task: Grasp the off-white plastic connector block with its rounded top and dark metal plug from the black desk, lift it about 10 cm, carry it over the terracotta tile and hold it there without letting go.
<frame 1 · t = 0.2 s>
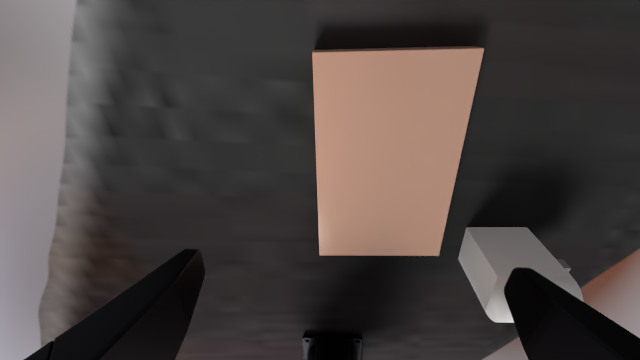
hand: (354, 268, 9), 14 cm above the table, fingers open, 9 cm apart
connector: (491, 243, 26), on the table
terracotta tile: (383, 162, 23), on the table
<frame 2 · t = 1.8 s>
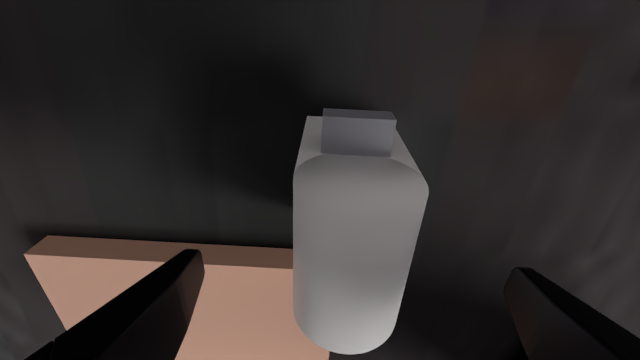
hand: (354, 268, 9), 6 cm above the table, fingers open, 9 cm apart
connector: (344, 169, 14), on the table
terracotta tile: (204, 304, 19), on the table
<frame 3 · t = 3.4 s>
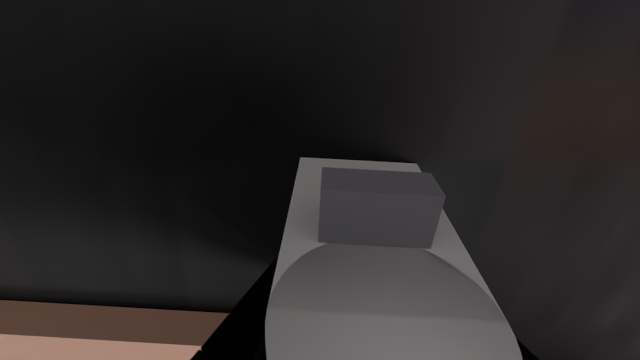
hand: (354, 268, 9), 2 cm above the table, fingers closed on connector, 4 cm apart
connector: (350, 225, 11), on the table, touching gripper
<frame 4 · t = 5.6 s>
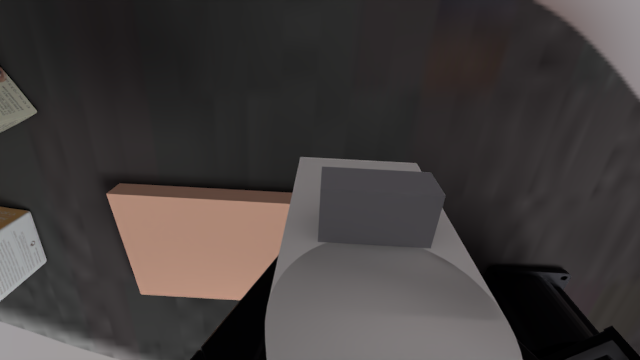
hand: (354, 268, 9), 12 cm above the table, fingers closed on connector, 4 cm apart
connector: (350, 224, 11), point 10 cm above the table, touching gripper
terracotta tile: (234, 242, 24), on the table
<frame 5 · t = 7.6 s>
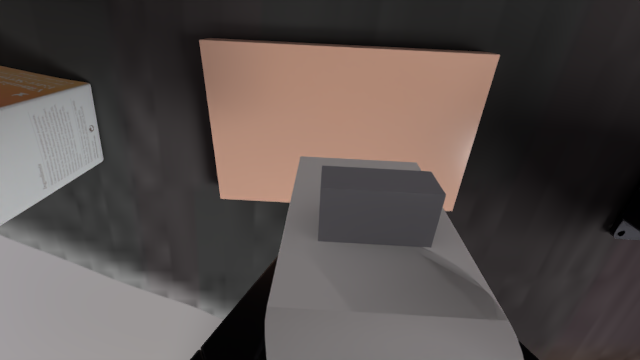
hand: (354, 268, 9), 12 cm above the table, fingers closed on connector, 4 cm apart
connector: (350, 224, 11), point 10 cm above the table, touching gripper
small box: (41, 111, 20), on the table
terracotta tile: (340, 128, 20), on the table
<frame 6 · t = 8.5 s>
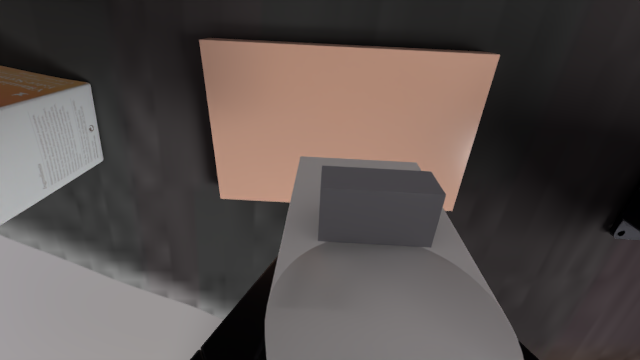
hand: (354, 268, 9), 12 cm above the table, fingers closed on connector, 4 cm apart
connector: (350, 224, 11), point 10 cm above the table, touching gripper
small box: (41, 111, 20), on the table
terracotta tile: (340, 128, 20), on the table
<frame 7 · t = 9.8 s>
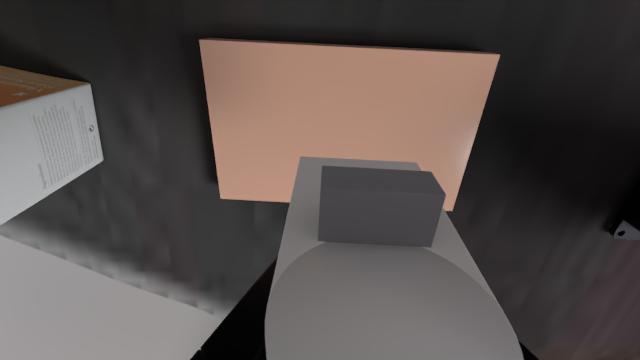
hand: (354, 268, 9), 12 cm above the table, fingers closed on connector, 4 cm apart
connector: (350, 224, 11), point 10 cm above the table, touching gripper
small box: (41, 111, 20), on the table
terracotta tile: (340, 128, 20), on the table
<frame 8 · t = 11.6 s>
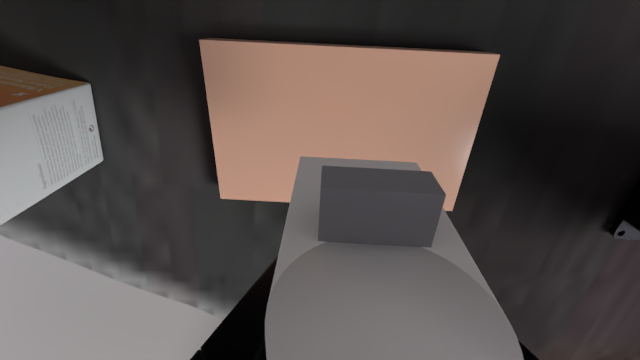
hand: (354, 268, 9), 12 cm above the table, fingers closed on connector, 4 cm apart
connector: (350, 224, 11), point 10 cm above the table, touching gripper
small box: (41, 111, 20), on the table
terracotta tile: (340, 128, 20), on the table
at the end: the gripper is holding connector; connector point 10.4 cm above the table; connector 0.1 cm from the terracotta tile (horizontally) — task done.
